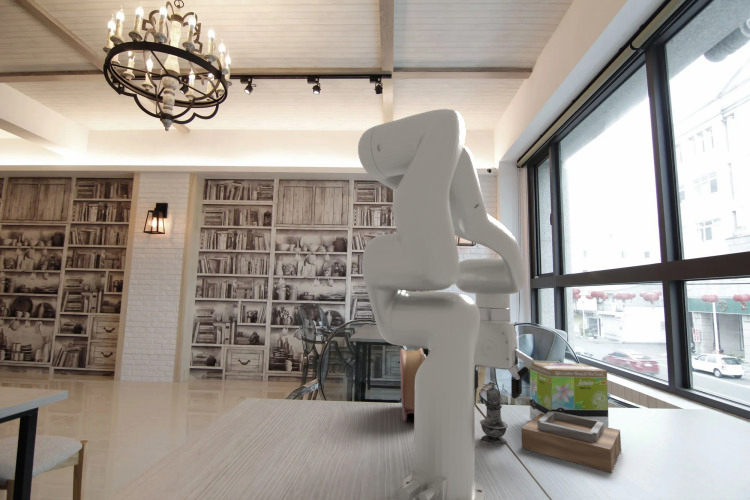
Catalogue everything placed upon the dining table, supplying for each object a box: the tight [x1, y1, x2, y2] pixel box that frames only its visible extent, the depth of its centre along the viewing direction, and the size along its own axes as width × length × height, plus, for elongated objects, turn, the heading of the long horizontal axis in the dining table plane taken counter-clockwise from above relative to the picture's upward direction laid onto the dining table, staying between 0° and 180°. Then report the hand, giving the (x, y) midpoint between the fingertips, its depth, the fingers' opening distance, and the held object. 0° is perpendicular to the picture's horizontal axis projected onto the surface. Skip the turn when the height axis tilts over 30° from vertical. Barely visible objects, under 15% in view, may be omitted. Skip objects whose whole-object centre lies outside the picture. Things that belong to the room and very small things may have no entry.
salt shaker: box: [479, 383, 509, 446], centre depth 82 cm, size 6×6×12 cm
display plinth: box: [521, 411, 622, 474], centre depth 78 cm, size 14×16×6 cm
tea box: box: [529, 361, 609, 428], centre depth 94 cm, size 15×10×15 cm, turn 97°
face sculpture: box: [399, 348, 427, 423], centre depth 99 cm, size 20×7×17 cm, turn 179°
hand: (494, 392), depth 83 cm, fingers open, 9 cm apart
